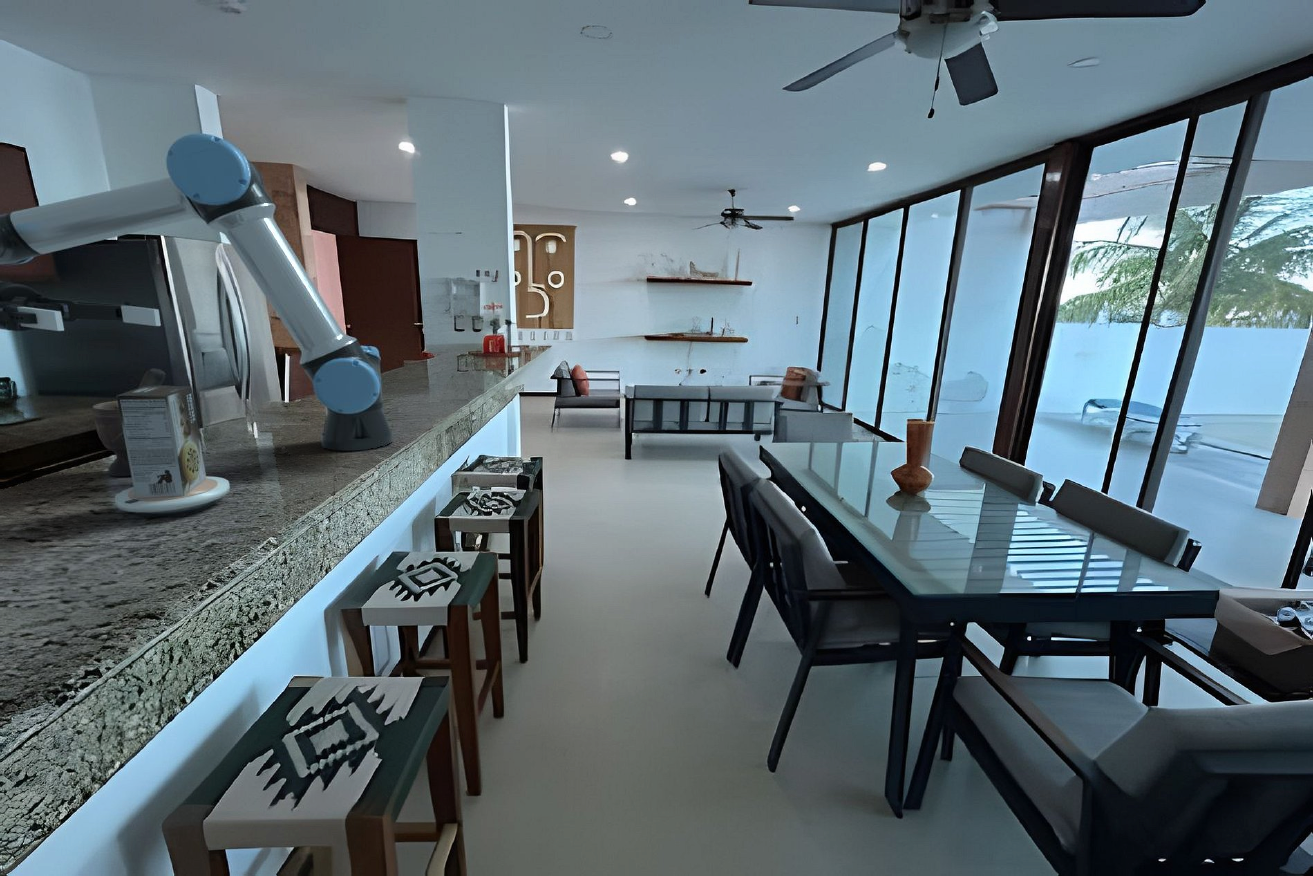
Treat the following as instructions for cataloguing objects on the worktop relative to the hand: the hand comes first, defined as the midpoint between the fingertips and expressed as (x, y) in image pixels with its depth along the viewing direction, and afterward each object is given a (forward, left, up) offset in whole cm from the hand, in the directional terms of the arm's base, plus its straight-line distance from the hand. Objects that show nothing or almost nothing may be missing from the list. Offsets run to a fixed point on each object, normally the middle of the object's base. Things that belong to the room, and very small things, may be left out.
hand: (112, 319), depth 86 cm
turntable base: (+1, +8, -29) cm, 31 cm away
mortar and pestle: (-11, -15, -30) cm, 35 cm away
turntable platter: (+1, +8, -28) cm, 29 cm away
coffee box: (+1, +8, -27) cm, 28 cm away
